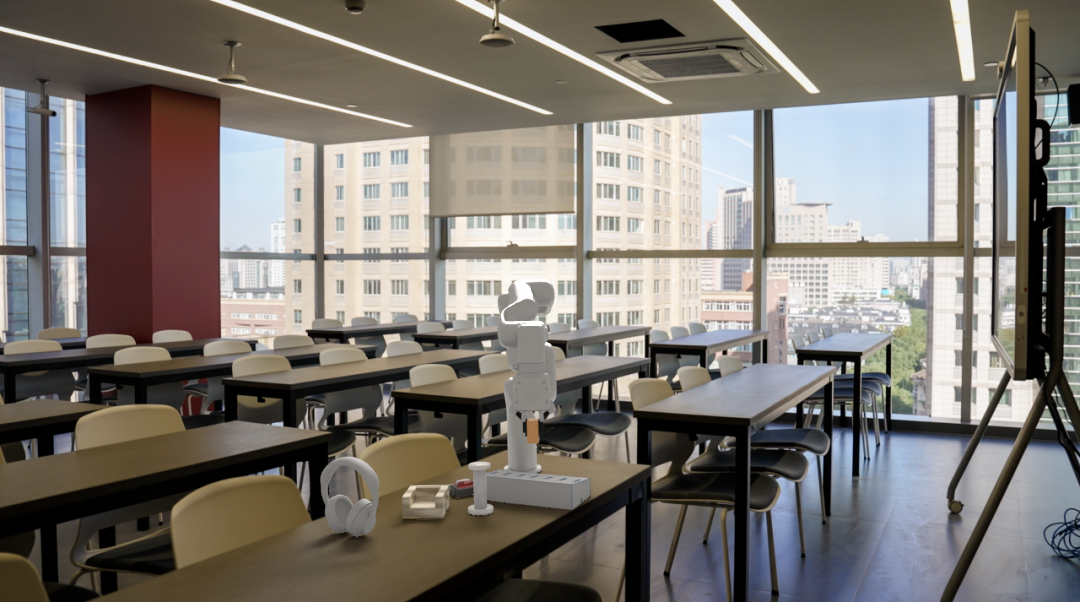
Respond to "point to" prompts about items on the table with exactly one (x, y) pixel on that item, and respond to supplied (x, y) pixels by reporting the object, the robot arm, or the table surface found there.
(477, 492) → the bobbin
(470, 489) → the toolbox
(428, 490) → the beige armchair
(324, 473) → the headphones
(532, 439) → the orange rectangular block
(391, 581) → the table surface
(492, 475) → the warehouse
